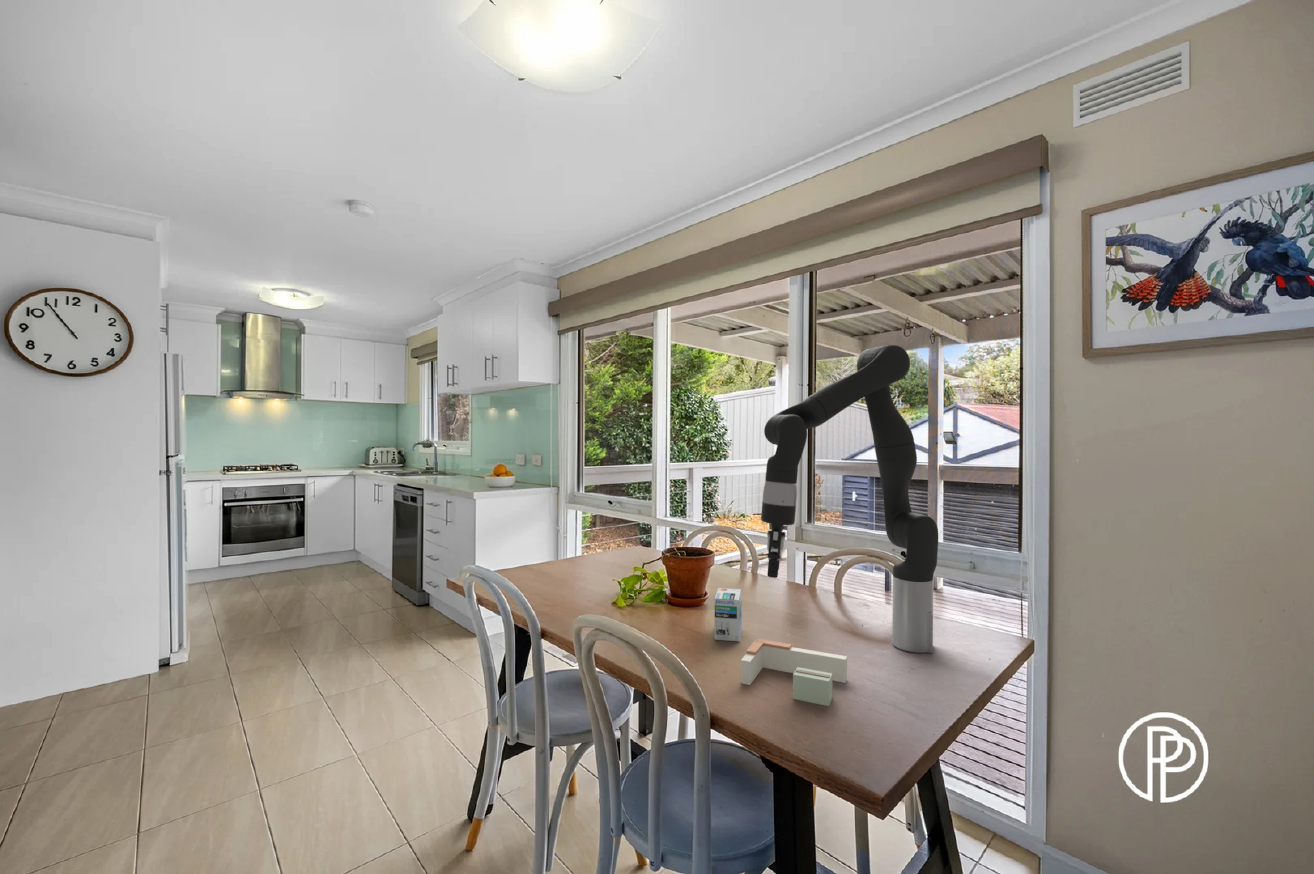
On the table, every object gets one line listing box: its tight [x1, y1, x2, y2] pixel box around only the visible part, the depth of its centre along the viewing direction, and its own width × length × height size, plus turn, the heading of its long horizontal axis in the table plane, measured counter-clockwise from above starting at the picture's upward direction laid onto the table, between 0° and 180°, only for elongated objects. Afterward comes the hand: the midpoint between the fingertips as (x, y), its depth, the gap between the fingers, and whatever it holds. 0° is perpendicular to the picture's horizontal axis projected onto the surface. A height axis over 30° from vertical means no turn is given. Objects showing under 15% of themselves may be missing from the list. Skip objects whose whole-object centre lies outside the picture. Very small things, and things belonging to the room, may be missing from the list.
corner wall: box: [740, 638, 848, 686], centre depth 122 cm, size 20×12×6 cm, turn 64°
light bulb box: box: [713, 587, 743, 642], centre depth 151 cm, size 11×7×11 cm, turn 168°
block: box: [792, 667, 833, 707], centre depth 115 cm, size 7×4×5 cm, turn 64°
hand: (773, 573), depth 129 cm, fingers open, 8 cm apart
